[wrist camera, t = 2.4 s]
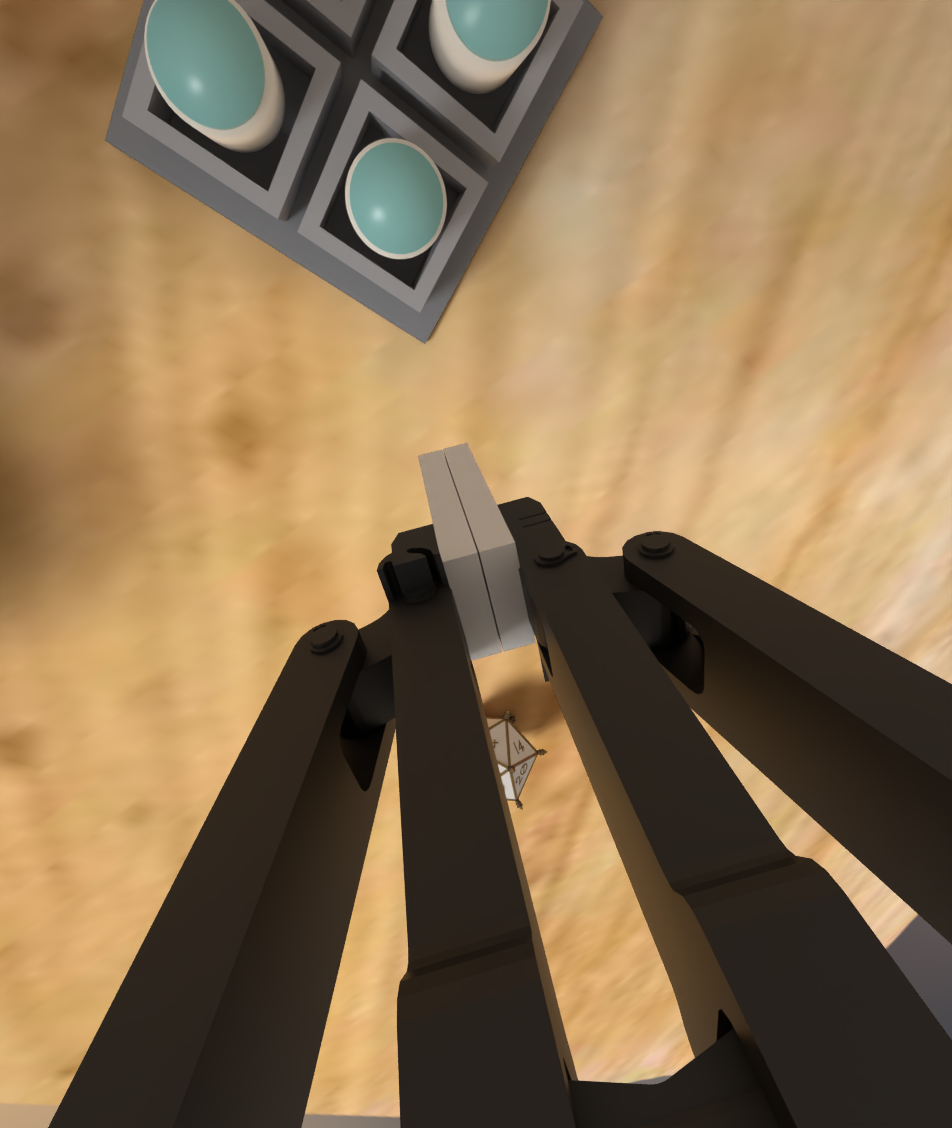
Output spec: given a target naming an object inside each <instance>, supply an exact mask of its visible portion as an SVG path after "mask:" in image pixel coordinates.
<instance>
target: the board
mask: <svg viewBox="0 0 952 1128" xmlns="http://www.w3.org/2000/svg"><path fill="white" fill-rule="evenodd" d="M154 1H155V0H144V1H143V5H142V9H141V12H140V16H139V19H138V23H137V27H136V30H135V34H134V37H133V41H132V45H131V48H130V52H129V56H128V59H127V63H126V66H125V70H124V74H123V77H122V81H121V85H120V88H119V92H118V95H117V99H116V103H115V106H114V110H113V114H112V117H111V121H110V124H109V128H108V132H107V135H106V139H105V141H106V142H108V143H109V144H111V145H113V146H114V147H116V148H117V149H119V150H120V151H122V152H124V153H125V154H127V155H128V156H130V157H131V158H133V159H135V160H136V161H138V162H139V163H141V164H142V165H144V166H146V167H147V168H149V169H150V170H152V171H153V172H155V173H157V174H158V175H160V176H161V177H163V178H164V179H166V180H168V181H169V182H171V183H172V184H174V185H176V186H177V187H179V188H180V189H182V190H183V191H185V192H187V193H188V194H190V195H191V196H193V197H194V198H196V199H198V200H199V201H201V202H202V203H204V204H205V205H207V206H209V207H210V208H212V209H213V210H215V211H216V212H218V213H220V214H221V215H223V216H224V217H226V218H227V219H229V220H231V221H232V222H234V223H235V224H237V225H238V226H240V227H242V228H243V229H245V230H246V231H248V232H249V233H251V234H253V235H254V236H256V237H257V238H259V239H261V240H262V241H264V242H265V243H267V244H268V245H270V246H272V247H273V248H275V249H276V250H278V251H279V252H281V253H283V254H284V255H286V256H287V257H289V258H290V259H292V260H294V261H295V262H297V263H298V264H300V265H301V266H303V267H305V268H306V269H308V270H309V271H311V272H312V273H314V274H316V275H317V276H319V277H320V278H322V279H323V280H325V281H327V282H328V283H330V284H331V285H333V286H334V287H336V288H338V289H339V290H341V291H342V292H344V293H346V294H347V295H349V296H350V297H352V298H353V299H355V300H357V301H358V302H360V303H361V304H363V305H364V306H366V307H368V308H369V309H371V310H372V311H374V312H375V313H377V314H379V315H380V316H382V317H383V318H385V319H386V320H388V321H390V322H391V323H393V324H394V325H396V326H397V327H399V328H401V329H402V330H404V331H405V332H407V333H408V334H410V335H412V336H413V337H415V338H416V339H418V340H419V341H421V342H423V343H424V344H425V343H426V342H427V340H428V338H429V336H430V334H431V332H432V330H433V329H434V327H435V325H436V323H437V321H438V319H439V318H440V316H441V314H442V312H443V310H444V308H445V307H446V305H447V303H448V301H449V299H450V297H451V295H452V294H453V292H454V290H455V288H456V286H457V284H458V283H459V281H460V279H461V277H462V275H463V273H464V271H465V270H466V268H467V266H468V264H469V262H470V260H471V259H472V257H473V255H474V253H475V251H476V249H477V248H478V246H479V244H480V242H481V240H482V238H483V236H484V235H485V233H486V231H487V229H488V227H489V225H490V224H491V222H492V220H493V218H494V216H495V214H496V212H497V211H498V209H499V207H500V205H501V203H502V201H503V200H504V198H505V196H506V194H507V192H508V190H509V189H510V187H511V185H512V183H513V181H514V179H515V177H516V176H517V174H518V172H519V170H520V168H521V166H522V165H523V163H524V161H525V159H526V157H527V155H528V153H529V152H530V150H531V148H532V146H533V144H534V142H535V141H536V139H537V137H538V135H539V133H540V131H541V130H542V128H543V126H544V124H545V122H546V120H547V118H548V117H549V115H550V113H551V111H552V109H553V107H554V106H555V104H556V102H557V100H558V98H559V96H560V94H561V93H562V91H563V89H564V87H565V85H566V83H567V82H568V80H569V78H570V76H571V74H572V72H573V71H574V69H575V67H576V65H577V63H578V61H579V59H580V58H581V56H582V54H583V52H584V50H585V48H586V47H587V45H588V43H589V41H590V39H591V37H592V36H593V34H594V32H595V30H596V28H597V26H598V24H599V23H600V21H601V19H602V17H603V16H602V15H601V14H600V13H599V12H598V11H597V10H596V9H595V8H594V7H593V5H592V4H591V3H590V2H589V1H588V0H551V3H550V10H549V15H548V19H547V22H546V25H545V28H544V30H543V33H542V35H541V37H540V39H539V40H538V42H537V44H536V45H535V47H534V48H533V49H532V51H531V52H530V53H529V54H528V55H527V57H526V58H525V59H524V60H523V62H522V63H521V64H520V65H519V66H518V68H517V69H516V70H515V71H514V73H513V74H512V75H511V76H510V77H509V79H508V80H507V81H506V82H505V83H504V84H503V85H501V86H500V87H499V88H497V89H496V90H494V91H492V92H489V93H485V94H472V93H468V92H465V91H462V90H461V89H459V88H457V87H456V86H454V85H453V84H452V83H451V82H450V81H449V80H448V79H447V78H446V77H445V75H444V74H443V73H442V71H441V70H440V68H439V66H438V64H437V62H436V60H435V58H434V55H433V52H432V48H431V44H430V38H429V26H428V25H429V13H430V7H431V3H432V0H235V1H236V2H237V3H238V4H239V5H240V6H241V7H242V8H243V10H244V11H245V12H246V13H247V14H248V16H249V17H250V19H251V20H252V21H253V23H254V25H255V26H256V28H257V30H258V32H259V34H260V36H261V38H262V39H263V41H264V43H265V45H266V47H267V49H268V51H269V53H270V55H271V57H272V59H273V61H274V63H275V65H276V67H277V69H278V71H279V73H280V76H281V79H282V83H283V86H284V92H285V102H286V106H285V116H284V121H283V124H282V127H281V129H280V131H279V133H278V135H277V136H276V138H275V139H274V140H273V141H272V142H271V143H270V144H269V145H268V146H266V147H265V148H263V149H261V150H258V151H255V152H250V153H242V152H235V151H232V150H229V149H227V148H224V147H222V146H221V145H219V144H217V143H216V142H214V141H213V140H211V139H210V138H208V137H207V136H205V135H204V134H203V133H201V132H200V131H198V130H197V129H195V128H194V127H192V126H191V125H189V124H188V123H187V122H185V121H184V120H183V119H181V118H180V117H179V116H178V115H177V114H176V113H175V112H174V111H173V110H172V108H171V107H170V106H169V105H168V104H167V102H166V101H165V99H164V98H163V97H162V95H161V93H160V92H159V90H158V88H157V86H156V84H155V82H154V80H153V78H152V75H151V72H150V70H149V67H148V63H147V59H146V53H145V44H144V33H145V24H146V19H147V16H148V13H149V10H150V8H151V6H152V4H153V2H154ZM386 138H397V139H403V140H406V141H409V142H411V143H413V144H415V145H416V146H418V147H419V148H421V149H422V150H423V151H424V152H425V153H427V154H428V156H429V157H430V158H431V159H432V160H433V162H434V163H435V165H436V166H437V168H438V170H439V172H440V174H441V177H442V179H443V182H444V186H445V190H446V198H447V209H446V216H445V221H444V224H443V227H442V230H441V232H440V234H439V236H438V237H437V239H436V240H435V242H434V243H433V244H432V245H431V246H430V247H429V248H428V249H427V250H426V251H424V252H423V253H421V254H419V255H417V256H415V257H412V258H407V259H393V258H389V257H385V256H383V255H380V254H378V253H377V252H375V251H373V250H372V249H371V248H370V247H368V246H367V245H366V244H365V243H364V242H363V241H362V239H361V238H360V237H359V236H358V234H357V233H356V231H355V229H354V228H353V225H352V223H351V221H350V218H349V215H348V212H347V208H346V201H345V187H346V180H347V175H348V172H349V170H350V167H351V165H352V163H353V161H354V159H355V158H356V157H357V155H358V154H359V153H360V152H361V151H362V150H363V149H364V148H365V147H367V146H368V145H369V144H371V143H373V142H375V141H378V140H381V139H386Z"/></svg>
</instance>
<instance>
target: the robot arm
mask: <svg viewBox="0 0 952 1128" xmlns="http://www.w3.org/2000/svg"><path fill="white" fill-rule="evenodd" d="M443 451H444V454H443ZM443 451H442V450H438V451H434V452H431V453H427V454H423V455H419V456H418V458H419V462H420V467H421V471H422V476H423V480H424V485H425V489H426V494H427V499H428V503H429V508H430V512H431V517H432V521H433V524H431V525H427V526H423V527H420V528H416V529H412V530H409V531H405V532H401V533H398V535H397V536H396V538H395V540H394V541H393V543H392V544H391V546H392V553H391V554H389V555H388V556H386V557H385V558H384V559H383V560H382V561H381V562H380V563H379V565H378V568H377V572H378V575H379V578H380V580H381V583H382V586H383V588H384V591H385V594H386V597H387V599H388V602H389V610H388V611H387V612H386V613H385V614H384V615H383V616H382V617H380V618H379V619H378V620H376V621H374V622H372V623H371V624H369V625H367V626H365V627H363V628H361V629H359V630H358V628H357V627H356V625H355V624H354V623H352V622H350V621H347V620H334V621H330V622H326V623H322V624H320V625H318V626H316V627H314V628H312V629H311V630H309V631H308V632H307V633H306V634H304V635H303V636H302V637H301V638H300V640H299V641H298V642H297V643H296V645H295V647H294V649H293V651H292V652H291V654H290V656H289V658H288V660H287V662H286V664H285V666H284V668H283V670H282V672H281V674H280V676H279V678H278V680H277V682H276V684H275V686H274V688H273V690H272V692H271V693H270V695H269V697H268V699H267V701H266V703H265V705H264V707H263V709H262V711H261V713H260V715H259V717H258V719H257V721H256V723H255V725H254V727H253V729H252V731H251V733H250V734H249V736H248V738H247V740H246V742H245V744H244V746H243V748H242V750H241V752H240V754H239V756H238V758H237V760H236V762H235V764H234V766H233V768H232V770H231V772H230V774H229V775H228V777H227V779H226V781H225V783H224V785H223V787H222V789H221V791H220V793H219V795H218V797H217V799H216V801H215V803H214V805H213V807H212V809H211V811H210V813H209V815H208V816H207V818H206V820H205V822H204V824H203V826H202V828H201V830H200V832H199V834H198V836H197V838H196V840H195V842H194V844H193V846H192V848H191V850H190V852H189V854H188V856H187V857H186V859H185V861H184V863H183V865H182V867H181V869H180V871H179V873H178V875H177V877H176V879H175V881H174V883H173V885H172V887H171V889H170V891H169V893H168V895H167V897H166V898H165V900H164V902H163V904H162V906H161V908H160V910H159V912H158V914H157V916H156V918H155V920H154V922H153V924H152V926H151V928H150V930H149V932H148V934H147V936H146V938H145V939H144V941H143V943H142V945H141V947H140V949H139V951H138V953H137V955H136V957H135V959H134V961H133V963H132V965H131V967H130V969H129V971H128V973H127V975H126V977H125V979H124V980H123V982H122V984H121V986H120V988H119V990H118V992H117V994H116V996H115V998H114V1000H113V1002H112V1004H111V1006H110V1008H109V1010H108V1012H107V1014H106V1016H105V1018H104V1020H103V1021H102V1023H101V1025H100V1027H99V1029H98V1031H97V1033H96V1035H95V1037H94V1039H93V1041H92V1043H91V1045H90V1047H89V1049H88V1051H87V1053H86V1055H85V1057H84V1059H83V1061H82V1062H81V1064H80V1066H79V1068H78V1070H77V1072H76V1074H75V1076H74V1078H73V1080H72V1082H71V1084H70V1086H69V1088H68V1090H67V1092H66V1094H65V1096H64V1098H63V1100H62V1102H61V1103H60V1105H59V1107H58V1109H57V1112H56V1113H55V1115H54V1117H53V1119H52V1121H51V1123H50V1125H49V1127H48V1128H301V1127H302V1122H303V1118H304V1114H305V1110H306V1106H307V1101H308V1097H309V1093H310V1089H311V1084H312V1080H313V1076H314V1072H315V1068H316V1063H317V1059H318V1055H319V1051H320V1046H321V1042H322V1038H323V1034H324V1029H325V1025H326V1021H327V1017H328V1013H329V1008H330V1004H331V1000H332V996H333V991H334V987H335V983H336V979H337V974H338V970H339V966H340V962H341V957H342V953H343V949H344V945H345V941H346V936H347V932H348V928H349V924H350V919H351V915H352V911H353V907H354V902H355V898H356V894H357V890H358V886H359V881H360V877H361V873H362V869H363V864H364V860H365V856H366V852H367V847H368V843H369V839H370V835H371V830H372V826H373V822H374V818H375V814H376V809H377V805H378V801H379V797H380V792H381V788H382V784H383V780H384V775H385V771H386V767H387V763H388V759H389V754H390V750H391V746H392V742H393V737H394V733H395V729H396V739H397V757H398V775H399V792H400V810H401V828H402V846H403V863H404V881H405V899H406V917H407V934H408V968H407V972H406V974H405V975H404V977H403V978H402V979H401V981H400V984H399V991H398V997H397V1040H398V1068H399V1095H400V1121H401V1128H952V1040H951V1038H950V1037H949V1036H948V1035H947V1033H946V1032H945V1030H944V1029H943V1027H942V1026H941V1025H940V1023H939V1022H938V1021H937V1019H936V1018H935V1017H934V1015H933V1014H932V1012H931V1011H930V1010H929V1008H928V1007H927V1005H926V1004H925V1003H924V1001H923V1000H922V999H921V997H920V996H919V995H918V993H917V992H916V990H915V989H914V988H913V986H912V985H911V984H910V982H909V981H908V979H907V978H906V977H905V975H904V974H903V972H902V971H901V970H900V969H899V967H898V966H897V964H896V963H895V961H894V960H893V959H892V957H891V956H890V954H889V953H888V952H887V950H886V949H885V948H884V946H883V945H882V943H881V942H880V941H879V939H878V938H877V937H876V935H875V934H874V932H873V931H872V930H871V928H870V927H869V926H868V924H867V923H866V921H865V920H864V919H863V917H862V916H861V915H860V913H859V912H858V910H857V909H856V908H855V906H854V905H853V903H852V902H851V901H850V899H849V898H848V897H847V895H846V894H845V892H844V891H843V890H842V889H841V887H840V886H839V885H838V884H837V883H836V882H835V880H834V879H833V878H832V877H831V876H830V874H829V873H828V872H827V871H826V870H825V869H824V868H823V867H821V866H820V865H819V864H818V863H816V862H815V861H814V860H812V859H810V858H805V857H800V856H795V855H794V854H793V853H792V852H790V851H789V850H788V849H787V848H786V847H785V845H784V844H783V843H782V842H781V840H780V839H779V838H778V836H777V835H776V833H775V832H774V830H773V829H772V827H771V826H770V824H769V823H768V821H767V820H766V818H765V817H764V816H763V814H762V813H761V811H760V810H759V808H758V807H757V805H756V804H755V802H754V801H753V799H752V798H751V796H750V795H749V794H748V792H747V791H746V789H745V788H744V786H743V785H742V783H741V782H740V780H739V779H738V777H737V776H736V774H735V773H734V772H733V770H732V769H731V767H730V766H729V764H728V763H727V761H726V760H725V758H724V757H723V755H722V754H721V752H720V751H719V750H718V748H717V747H716V745H715V744H714V742H713V741H712V739H711V738H710V736H709V735H708V733H707V732H706V730H705V729H704V728H703V726H702V725H701V723H700V722H699V720H698V719H697V717H696V716H695V714H694V713H693V711H692V710H694V711H695V712H696V713H697V714H698V715H699V716H700V717H701V718H702V719H704V720H705V721H706V722H707V723H708V724H709V725H710V726H711V727H712V728H713V729H715V730H716V731H717V732H718V733H719V734H720V735H721V736H722V737H723V738H724V739H726V740H727V741H728V742H729V743H730V744H731V745H732V746H733V747H734V748H736V749H737V750H738V751H739V752H740V753H741V754H742V755H743V756H744V757H745V758H747V759H748V760H749V761H750V762H751V763H752V764H753V765H754V766H755V767H756V768H758V769H759V770H760V771H761V772H762V773H763V774H764V775H765V776H766V777H768V778H769V779H770V780H771V781H772V782H773V783H774V784H775V785H776V786H777V787H779V788H780V789H781V790H782V791H783V792H784V793H785V794H786V795H787V796H788V797H790V798H791V799H792V800H793V801H794V802H795V803H796V804H797V805H798V806H800V807H801V808H802V809H803V810H804V811H805V812H806V813H807V814H808V815H809V816H811V817H812V818H813V819H814V820H815V821H816V822H817V823H818V824H819V825H821V826H822V827H823V828H824V829H825V830H826V831H827V832H828V833H829V834H830V835H832V836H833V837H834V838H835V839H836V840H837V841H838V842H839V843H840V844H841V845H843V846H844V847H845V848H846V849H847V850H848V851H849V852H850V853H851V854H853V855H854V856H855V857H856V858H857V859H858V860H859V861H860V862H861V863H862V864H864V865H865V866H866V867H867V868H868V869H869V870H870V871H871V872H872V873H873V874H875V875H876V876H877V877H878V878H879V879H880V880H881V881H882V882H883V883H885V884H886V885H887V886H888V887H889V888H890V889H891V890H892V891H893V892H894V893H896V894H897V895H898V896H899V897H900V898H901V899H902V900H903V901H904V902H905V903H907V904H908V905H909V906H910V907H911V908H912V909H913V910H914V911H915V912H917V913H918V914H919V915H920V916H921V917H922V918H923V919H924V920H925V921H927V922H928V923H929V924H930V925H931V926H932V927H933V928H934V929H935V930H936V931H938V932H939V933H940V934H941V935H942V936H943V937H944V938H945V939H946V940H948V941H949V942H950V943H951V944H952V684H950V683H949V682H947V681H945V680H943V679H941V678H939V677H938V676H936V675H934V674H932V673H930V672H928V671H927V670H925V669H923V668H921V667H919V666H918V665H916V664H914V663H912V662H910V661H908V660H907V659H905V658H903V657H901V656H899V655H897V654H896V653H894V652H892V651H890V650H888V649H887V648H885V647H883V646H881V645H879V644H877V643H876V642H874V641H872V640H870V639H868V638H867V637H865V636H863V635H861V634H859V633H857V632H856V631H854V630H852V629H850V628H848V627H846V626H845V625H843V624H841V623H839V622H837V621H836V620H834V619H832V618H830V617H828V616H826V615H825V614H823V613H821V612H819V611H817V610H815V609H814V608H812V607H810V606H808V605H806V604H805V603H803V602H801V601H799V600H797V599H795V598H794V597H792V596H790V595H788V594H786V593H784V592H783V591H781V590H779V589H777V588H775V587H774V586H772V585H770V584H768V583H766V582H764V581H763V580H761V579H759V578H757V577H755V576H754V575H752V574H750V573H748V572H746V571H744V570H743V569H741V568H739V567H737V566H735V565H733V564H732V563H730V562H728V561H726V560H724V559H723V558H721V557H719V556H717V555H715V554H713V553H712V552H710V551H708V550H706V549H704V548H702V547H701V546H699V545H697V544H695V543H693V542H692V541H690V540H688V539H686V538H684V537H682V536H680V535H677V534H674V533H670V532H661V531H653V532H646V533H643V534H640V535H637V536H634V537H633V538H631V539H629V540H628V541H627V542H626V543H625V544H624V546H623V547H622V549H623V556H614V557H590V556H586V554H585V553H584V552H583V550H582V549H581V548H580V547H579V546H577V545H576V544H573V543H570V542H567V541H565V539H564V538H563V536H562V535H561V533H560V532H559V530H558V529H557V527H556V526H555V524H554V523H553V521H551V518H550V517H549V515H548V514H547V513H546V511H545V509H544V507H543V506H542V504H541V503H540V502H538V501H536V500H534V499H531V498H529V497H525V498H521V499H518V500H514V501H510V502H507V503H503V504H499V505H497V504H496V502H495V500H494V498H493V496H492V494H491V492H490V490H489V488H488V485H487V483H486V481H485V479H484V477H483V475H482V473H481V471H480V469H479V467H478V465H477V463H476V461H475V459H474V457H473V454H472V452H471V450H470V448H469V446H468V444H467V443H464V444H461V445H457V446H453V447H449V448H446V449H443ZM444 455H445V457H444ZM445 459H446V460H445ZM533 631H534V633H533ZM534 634H535V636H536V639H537V643H538V648H539V653H540V658H541V663H542V668H543V673H544V678H545V682H547V681H550V683H551V685H552V687H553V690H554V692H555V695H556V697H557V700H558V702H559V705H560V707H561V710H562V712H563V715H564V717H565V720H566V722H567V725H568V727H569V730H570V732H571V735H572V737H573V740H574V742H575V745H576V747H577V750H578V752H579V755H580V757H581V760H582V762H583V765H584V767H585V770H586V772H587V775H588V777H589V780H590V782H591V785H592V787H593V790H594V792H595V795H596V797H597V800H598V802H599V805H600V807H601V810H602V812H603V815H604V817H605V820H606V822H607V824H608V827H609V829H610V832H611V834H612V837H613V839H614V842H615V844H616V847H617V849H618V852H619V854H620V857H621V859H622V862H623V864H624V867H625V869H626V872H627V874H628V877H629V879H630V882H631V884H632V887H633V889H634V892H635V894H636V897H637V899H638V902H639V904H640V907H641V909H642V912H643V914H644V917H645V919H646V922H647V924H648V927H649V929H650V932H651V934H652V937H653V939H654V942H655V944H656V947H657V949H658V952H659V954H660V957H661V959H662V961H663V964H664V966H665V969H666V971H667V974H668V976H669V979H670V982H671V984H672V987H673V990H674V993H675V996H676V999H677V1002H678V1005H679V1009H680V1013H681V1016H682V1020H683V1023H684V1027H685V1030H686V1033H687V1036H688V1039H689V1042H690V1045H691V1048H692V1051H693V1054H694V1056H695V1059H693V1060H692V1061H691V1062H689V1063H688V1064H687V1065H686V1066H684V1067H683V1068H682V1069H680V1070H679V1071H678V1072H677V1073H675V1074H674V1075H673V1076H671V1077H670V1078H669V1079H667V1080H666V1081H664V1082H662V1083H659V1084H654V1085H647V1084H629V1083H611V1082H593V1081H578V1078H577V1074H576V1071H575V1067H574V1063H573V1059H572V1056H571V1052H570V1048H569V1045H568V1041H567V1037H566V1034H565V1030H564V1026H563V1022H562V1018H561V1015H560V1011H559V1007H558V1003H557V999H556V995H555V991H554V987H553V983H552V979H551V975H550V971H549V967H548V963H547V959H546V955H545V951H544V947H543V943H542V939H541V935H540V931H539V927H538V923H537V919H536V915H535V911H534V907H533V903H532V899H531V895H530V891H529V887H528V883H527V879H526V875H525V871H524V867H523V863H522V859H521V855H520V851H519V847H518V843H517V839H516V835H515V831H514V827H513V823H512V819H511V815H510V811H509V807H508V803H507V799H506V795H505V791H504V787H503V783H502V779H501V775H500V771H499V767H498V763H497V759H496V755H495V751H494V747H493V743H492V739H491V735H490V731H489V727H488V723H487V719H486V715H485V711H484V707H483V703H482V699H481V695H480V691H479V687H478V683H477V679H476V675H475V671H474V668H473V664H472V660H475V659H479V658H482V657H486V656H490V655H493V654H497V653H500V652H502V649H501V645H502V648H503V651H508V650H511V649H515V648H518V647H522V646H525V645H529V644H533V643H535V638H534ZM498 636H499V637H498ZM499 639H500V641H499ZM500 642H501V645H500ZM691 709H692V710H691Z"/></svg>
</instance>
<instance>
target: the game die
mask: <svg viewBox="0 0 952 1128" xmlns="http://www.w3.org/2000/svg"><path fill="white" fill-rule="evenodd" d="M510 716H511V713H510V711H507V712H505V715H504V718H500V717H486V719H487V723H488V727H489V731H490V735H491V739H492V743H493V747H494V751H495V755H496V759H497V763H498V767H499V771H500V775H501V779H502V783H503V787H504V791H505V795H506V799H507V800H509V801H515V802H516V805H517V808H520V809H522V810H523V808H522V803H521V801H519V799H518V798H519V796H520V794H521V791H522V789H523V787H524V784H525V782H526V780H527V777H528V775H529V773H530V771H531V768H532V766H533V764H534V761H535V759H536V757H537V755H544V754H545V753H547V751H545V750H543V749H542V750H538V751H537V750H536V749H535V748H534V747H533V746H532V745H531V744H530V742H529V741H528V740H527V739H526V738H525V737H524V736H523V735H522V734H521V732H520V731H519V730H518V729H517V728H516V727H515V726H514V725H513V723H514V721H515V716H513V717H511V718H510ZM508 718H510V720H508Z"/></svg>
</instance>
